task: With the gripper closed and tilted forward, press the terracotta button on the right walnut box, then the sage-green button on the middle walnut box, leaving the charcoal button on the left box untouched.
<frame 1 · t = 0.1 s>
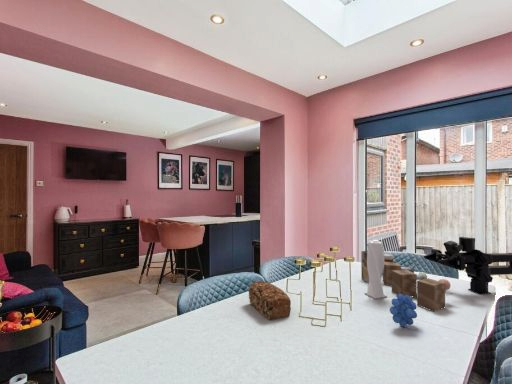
hand: (430, 259, 133), 17 cm above the table, tool horizontal, fingers open, 9 cm apart
coffee box: (371, 281, 151), on the table
bread: (268, 310, 114), on the table
box middle: (411, 293, 132), on the table
box left: (399, 284, 147), on the table
skyscraper: (375, 297, 129), on the table
button terracotta: (439, 285, 120), point 8 cm above the table, slide at 0.0 cm
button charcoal: (404, 269, 146), point 8 cm above the table, slide at 0.0 cm
button sage: (415, 277, 132), point 8 cm above the table, slide at 0.0 cm
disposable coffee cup: (385, 274, 164), on the table
box right: (436, 304, 119), on the table
grapes: (405, 328, 98), on the table
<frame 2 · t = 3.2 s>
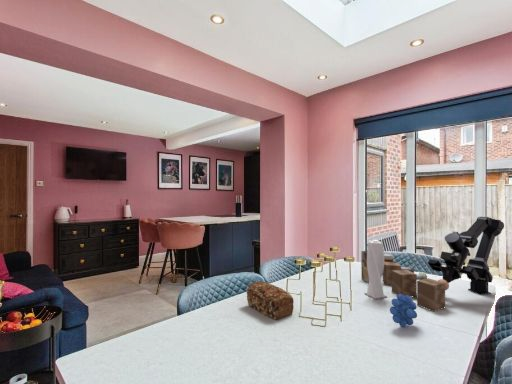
hand: (443, 284, 122), 8 cm above the table, tool tilted 45°, fingers closed, pressing on button terracotta
button terracotta: (437, 285, 120), point 8 cm above the table, slide at 1.1 cm, touching gripper
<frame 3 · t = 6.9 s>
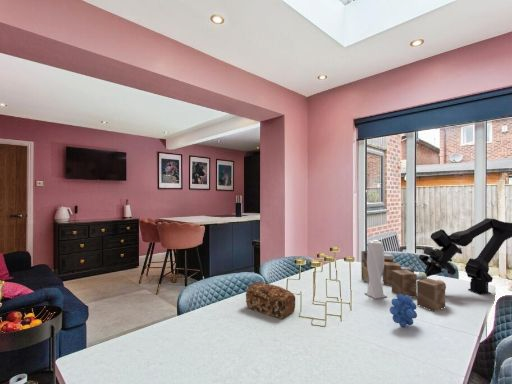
hand: (424, 276, 133), 8 cm above the table, tool tilted 45°, fingers closed, pressing on button sage
button terracotta: (435, 286, 119), point 8 cm above the table, slide at 3.3 cm
button sage: (415, 277, 132), point 8 cm above the table, slide at 0.0 cm, touching gripper
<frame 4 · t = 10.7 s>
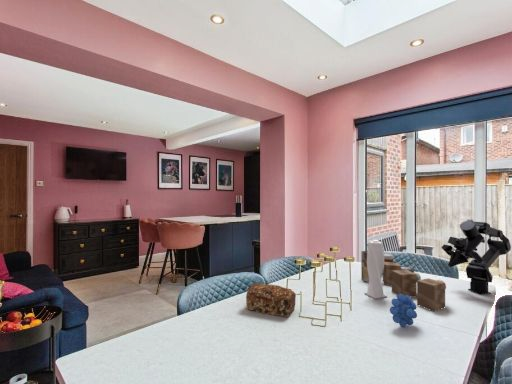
hand: (449, 266, 132), 14 cm above the table, tool tilted 45°, fingers closed
button sage: (409, 277, 132), point 8 cm above the table, slide at 3.3 cm
at the end: button terracotta slide at 3.3 cm; button sage slide at 3.3 cm; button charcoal slide at 0.0 cm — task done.
